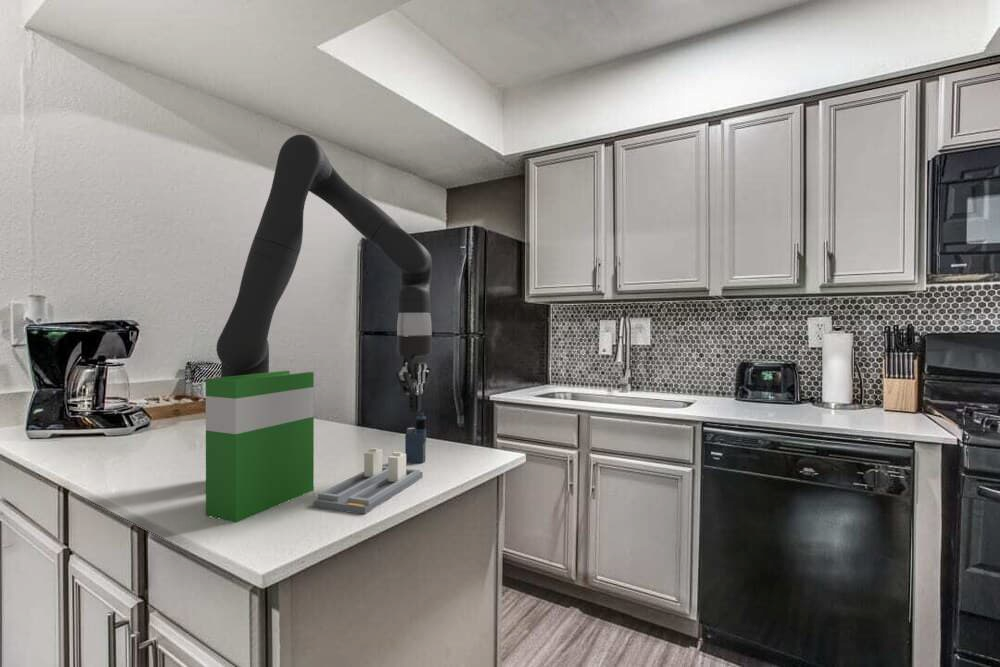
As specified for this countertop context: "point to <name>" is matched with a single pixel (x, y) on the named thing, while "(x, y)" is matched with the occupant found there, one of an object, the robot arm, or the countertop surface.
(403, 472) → the tab
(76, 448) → the countertop surface
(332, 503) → the switch board
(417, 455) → the vaping device
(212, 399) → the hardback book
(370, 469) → the tab
